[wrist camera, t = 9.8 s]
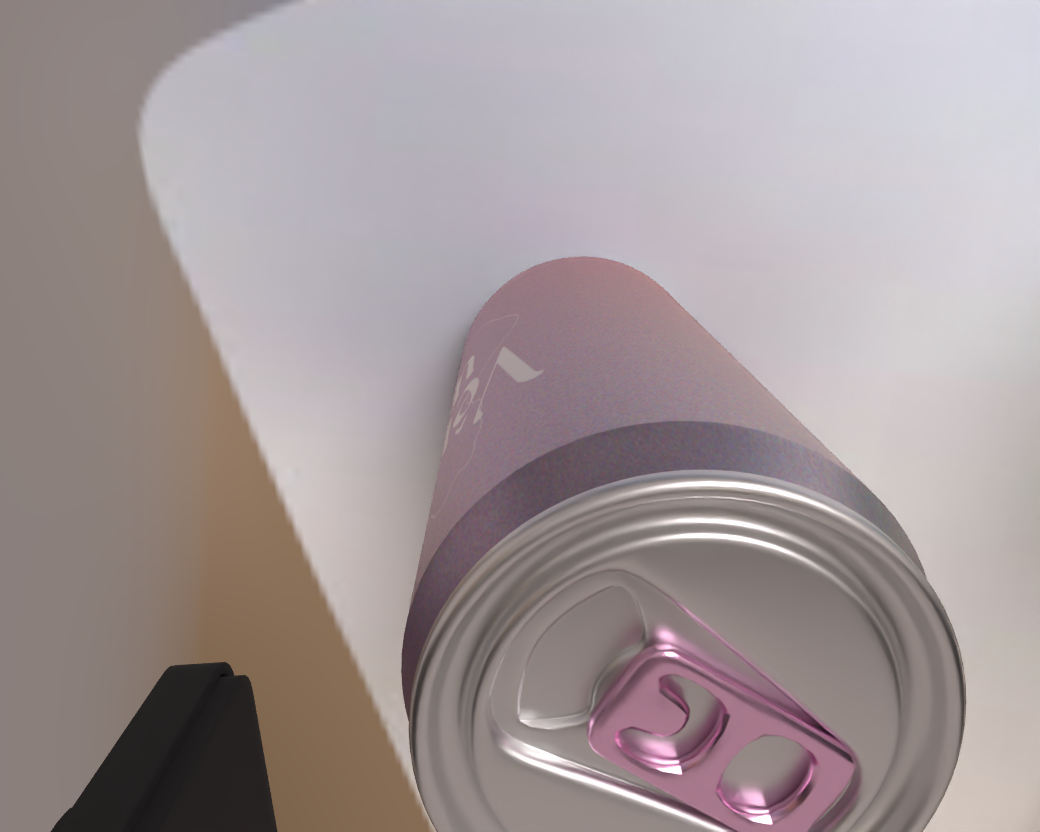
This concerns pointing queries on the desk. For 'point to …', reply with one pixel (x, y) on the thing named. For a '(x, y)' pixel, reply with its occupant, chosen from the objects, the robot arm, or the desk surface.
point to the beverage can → (661, 592)
